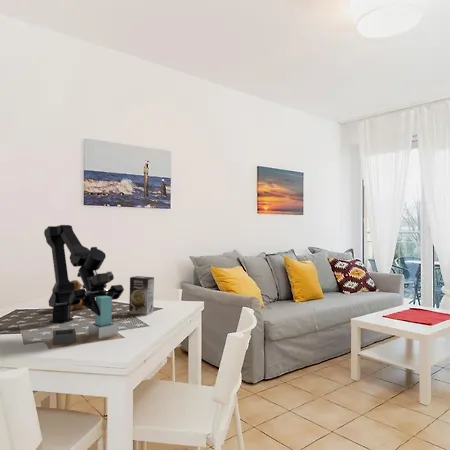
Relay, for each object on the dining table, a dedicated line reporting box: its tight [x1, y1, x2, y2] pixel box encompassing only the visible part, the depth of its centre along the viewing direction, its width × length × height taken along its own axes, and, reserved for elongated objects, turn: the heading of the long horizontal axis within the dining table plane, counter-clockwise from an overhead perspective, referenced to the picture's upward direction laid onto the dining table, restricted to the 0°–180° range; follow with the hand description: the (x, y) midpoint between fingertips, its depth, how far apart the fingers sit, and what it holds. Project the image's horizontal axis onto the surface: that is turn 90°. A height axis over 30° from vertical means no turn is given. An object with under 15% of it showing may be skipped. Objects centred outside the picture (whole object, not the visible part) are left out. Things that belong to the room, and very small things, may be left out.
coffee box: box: [128, 275, 155, 316], centre depth 176 cm, size 9×6×16 cm
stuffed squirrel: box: [70, 279, 88, 312], centre depth 182 cm, size 10×14×13 cm
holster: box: [52, 328, 77, 345], centre depth 129 cm, size 7×7×3 cm
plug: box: [94, 296, 113, 327], centre depth 136 cm, size 4×4×12 cm
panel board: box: [42, 332, 125, 350], centre depth 133 cm, size 24×12×1 cm, turn 124°
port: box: [88, 322, 119, 340], centre depth 136 cm, size 7×7×4 cm
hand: (105, 314), depth 136 cm, fingers closed on plug, 4 cm apart
